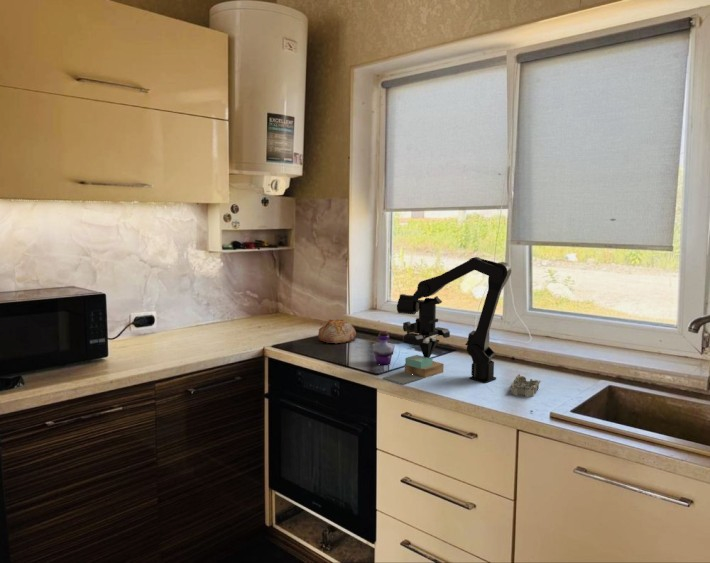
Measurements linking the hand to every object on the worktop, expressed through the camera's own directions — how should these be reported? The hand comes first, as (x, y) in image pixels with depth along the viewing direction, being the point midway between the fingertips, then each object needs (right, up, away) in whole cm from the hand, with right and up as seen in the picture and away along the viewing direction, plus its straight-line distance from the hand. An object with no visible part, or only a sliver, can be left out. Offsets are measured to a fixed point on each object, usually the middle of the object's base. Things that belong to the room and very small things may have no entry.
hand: (426, 360), depth 190 cm
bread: (-33, +1, +49) cm, 59 cm away
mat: (-9, -5, -8) cm, 13 cm away
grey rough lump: (+28, -7, -21) cm, 35 cm away
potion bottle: (-14, -3, +11) cm, 18 cm away
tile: (-3, 0, -3) cm, 4 cm away
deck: (-1, -4, 0) cm, 4 cm away
